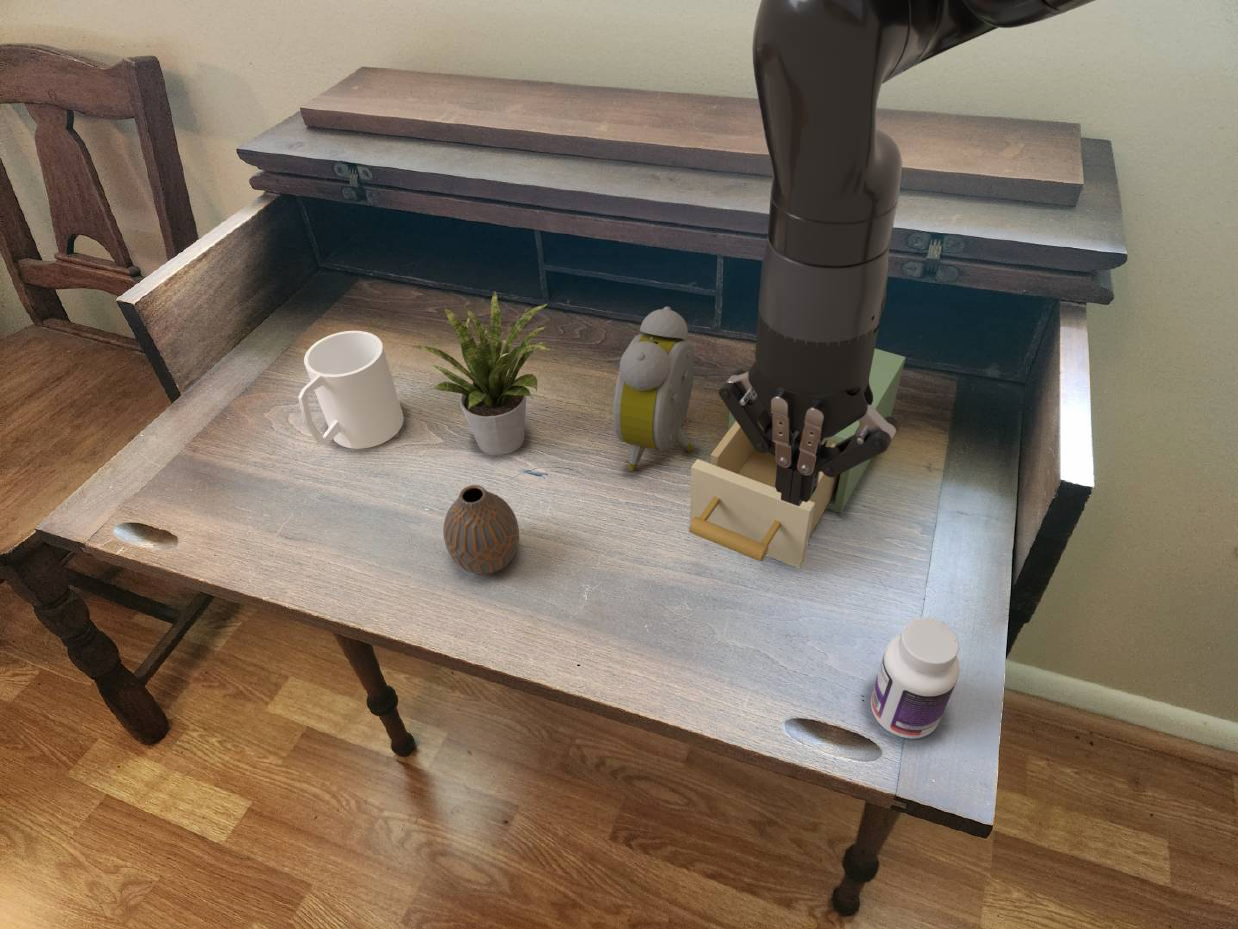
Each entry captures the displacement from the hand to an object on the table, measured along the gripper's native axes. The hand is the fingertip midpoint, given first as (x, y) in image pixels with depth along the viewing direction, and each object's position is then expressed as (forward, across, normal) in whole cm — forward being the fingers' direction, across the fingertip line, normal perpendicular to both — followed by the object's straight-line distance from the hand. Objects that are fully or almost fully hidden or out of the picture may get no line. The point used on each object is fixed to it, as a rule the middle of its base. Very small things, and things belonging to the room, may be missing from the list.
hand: (795, 496), depth 64 cm
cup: (+14, -51, -1) cm, 53 cm away
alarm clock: (+15, -20, +14) cm, 28 cm away
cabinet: (+15, -6, +21) cm, 26 cm away
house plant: (+14, -35, +7) cm, 38 cm away
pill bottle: (+15, +12, -4) cm, 20 cm away
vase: (+14, -27, -8) cm, 32 cm away
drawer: (+14, -6, +9) cm, 18 cm away
